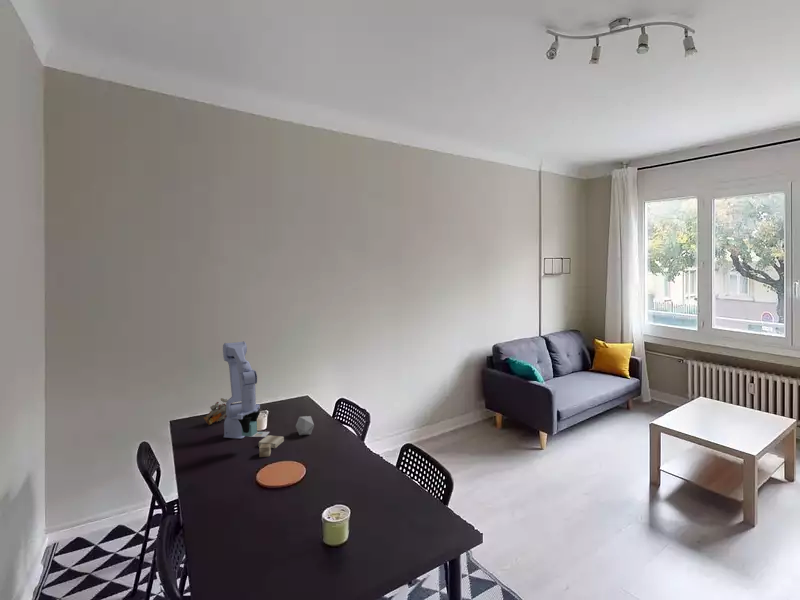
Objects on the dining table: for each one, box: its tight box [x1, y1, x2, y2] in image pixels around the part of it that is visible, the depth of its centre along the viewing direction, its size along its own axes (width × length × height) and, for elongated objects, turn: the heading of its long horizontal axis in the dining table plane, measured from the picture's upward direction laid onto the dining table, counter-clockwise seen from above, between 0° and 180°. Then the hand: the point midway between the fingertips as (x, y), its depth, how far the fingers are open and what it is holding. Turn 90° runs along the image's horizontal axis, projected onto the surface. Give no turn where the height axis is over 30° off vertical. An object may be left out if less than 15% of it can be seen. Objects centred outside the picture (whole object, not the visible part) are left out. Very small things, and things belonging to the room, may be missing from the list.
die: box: [295, 415, 315, 436], centre depth 201 cm, size 8×9×10 cm
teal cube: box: [242, 420, 258, 438], centre depth 182 cm, size 4×4×5 cm
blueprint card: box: [248, 431, 270, 438], centre depth 200 cm, size 8×6×1 cm
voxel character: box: [203, 398, 234, 426], centre depth 215 cm, size 11×10×15 cm
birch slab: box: [258, 434, 285, 449], centre depth 189 cm, size 8×8×2 cm
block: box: [258, 443, 272, 458], centre depth 178 cm, size 4×4×4 cm
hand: (249, 430), depth 182 cm, fingers closed on teal cube, 4 cm apart
